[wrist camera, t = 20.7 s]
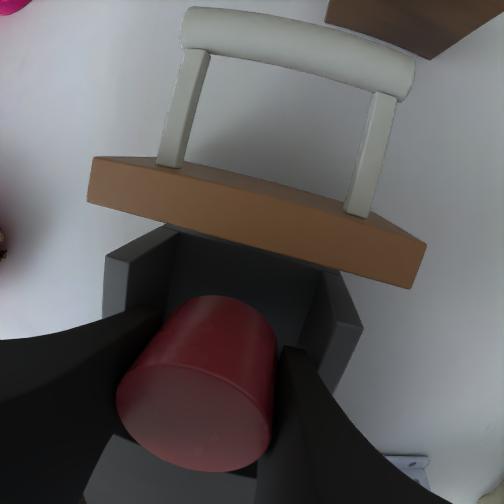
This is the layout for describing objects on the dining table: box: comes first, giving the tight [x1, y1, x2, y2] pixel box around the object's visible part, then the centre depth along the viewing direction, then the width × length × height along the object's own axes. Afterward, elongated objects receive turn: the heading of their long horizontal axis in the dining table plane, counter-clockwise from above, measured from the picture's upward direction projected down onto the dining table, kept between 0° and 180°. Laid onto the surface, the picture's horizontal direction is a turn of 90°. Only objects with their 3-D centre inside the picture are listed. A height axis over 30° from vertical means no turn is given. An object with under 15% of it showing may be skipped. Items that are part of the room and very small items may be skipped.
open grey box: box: [83, 422, 258, 504], centre depth 13 cm, size 12×10×7 cm
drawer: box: [86, 6, 427, 462], centre depth 10 cm, size 15×8×5 cm, turn 166°
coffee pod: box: [115, 295, 278, 473], centre depth 8 cm, size 4×4×4 cm
